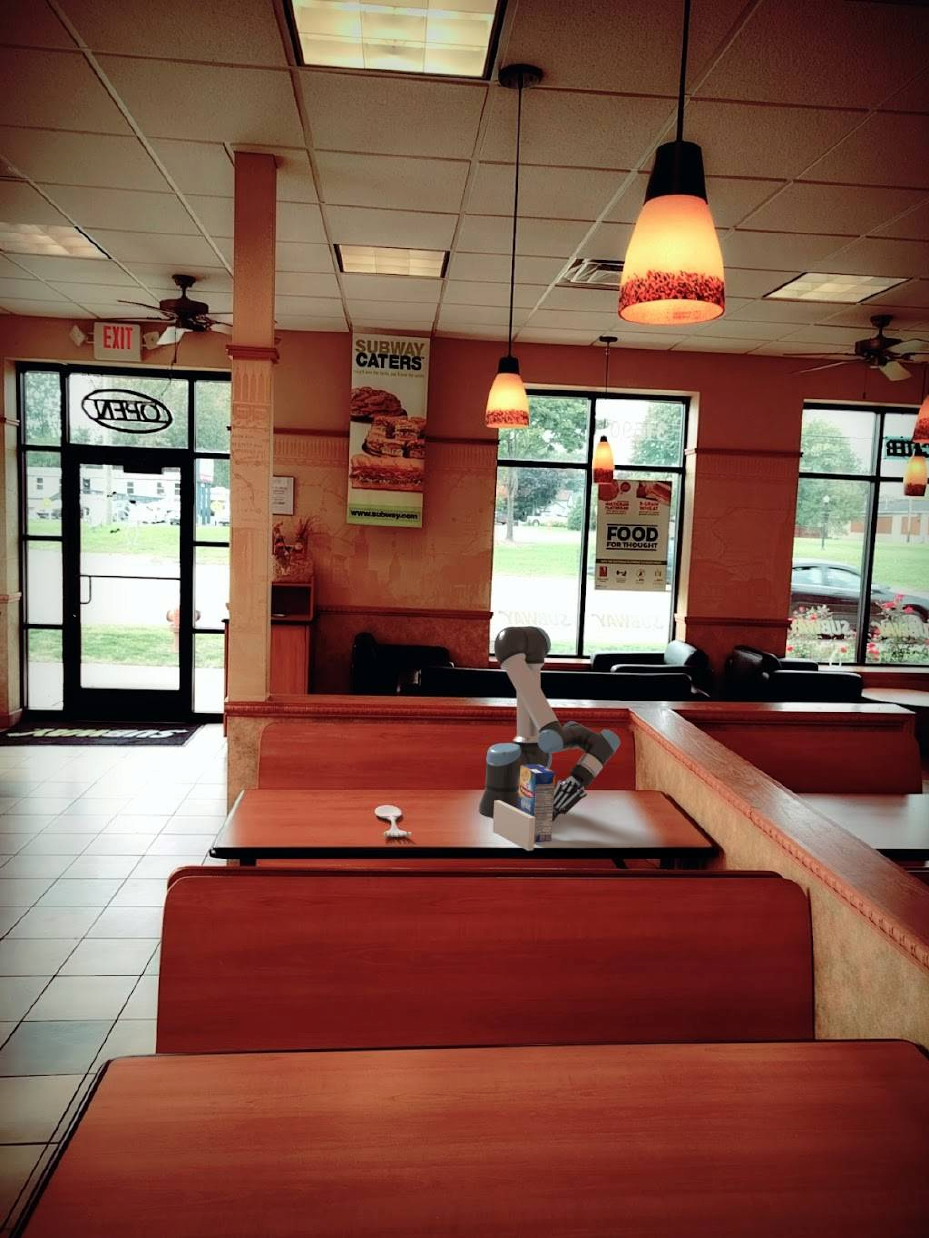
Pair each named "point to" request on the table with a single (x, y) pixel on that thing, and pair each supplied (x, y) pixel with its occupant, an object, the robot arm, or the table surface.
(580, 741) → the robot arm
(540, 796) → the beverage box
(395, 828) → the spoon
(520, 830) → the board
